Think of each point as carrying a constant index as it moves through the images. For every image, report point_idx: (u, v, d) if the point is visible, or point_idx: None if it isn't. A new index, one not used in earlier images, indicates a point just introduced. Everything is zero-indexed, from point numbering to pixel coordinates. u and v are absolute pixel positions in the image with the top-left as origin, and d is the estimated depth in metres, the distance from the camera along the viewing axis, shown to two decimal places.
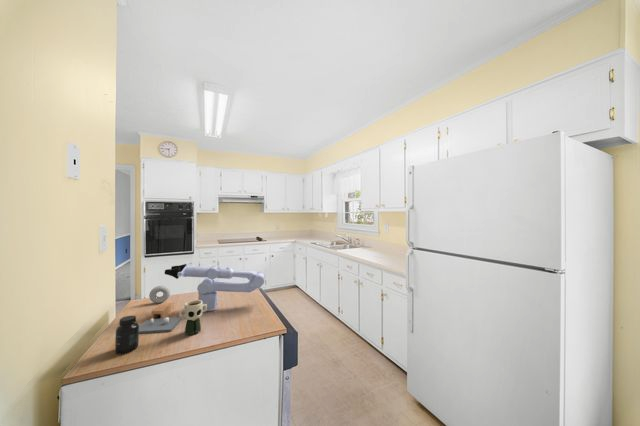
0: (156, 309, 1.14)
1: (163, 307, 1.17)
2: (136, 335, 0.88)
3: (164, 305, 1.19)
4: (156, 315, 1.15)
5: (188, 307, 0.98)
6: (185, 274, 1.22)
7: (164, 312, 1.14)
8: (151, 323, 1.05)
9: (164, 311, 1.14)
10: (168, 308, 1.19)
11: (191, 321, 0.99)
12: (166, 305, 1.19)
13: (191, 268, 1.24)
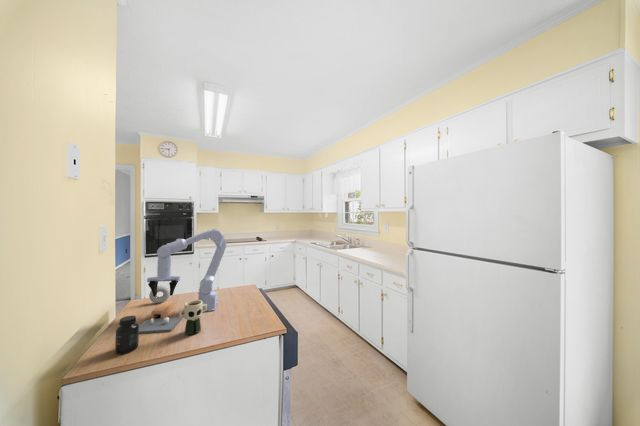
0: (156, 309, 1.14)
1: (163, 307, 1.17)
2: (136, 335, 0.88)
3: (164, 305, 1.19)
4: (156, 315, 1.15)
5: (188, 307, 0.98)
6: (170, 276, 1.20)
7: (164, 312, 1.14)
8: (151, 323, 1.05)
9: (164, 311, 1.14)
10: (168, 308, 1.19)
11: (191, 321, 0.99)
12: (166, 305, 1.19)
13: (166, 273, 1.17)
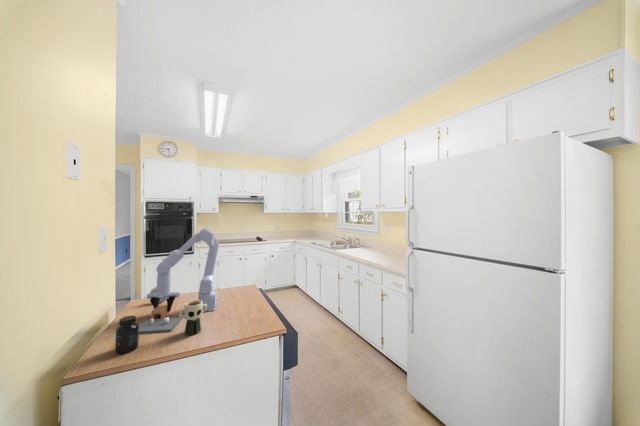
0: (156, 309, 1.14)
1: (163, 307, 1.17)
2: (136, 335, 0.88)
3: (164, 305, 1.19)
4: (156, 315, 1.15)
5: (188, 307, 0.98)
6: (170, 292, 1.20)
7: (164, 312, 1.14)
8: (151, 323, 1.05)
9: (164, 311, 1.14)
10: None
11: (191, 321, 0.99)
12: (166, 305, 1.19)
13: (165, 289, 1.17)
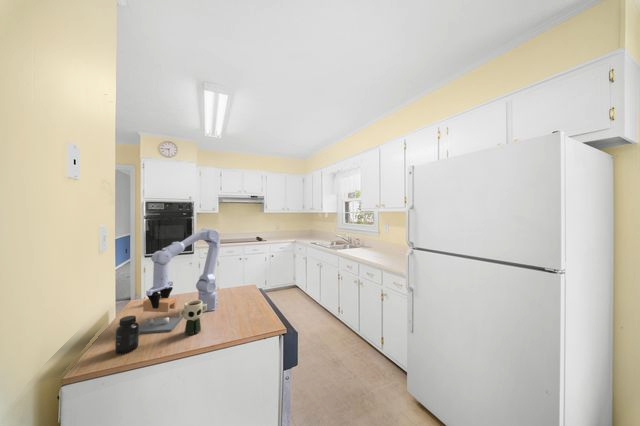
0: (165, 301, 1.06)
1: (164, 299, 1.08)
2: (136, 335, 0.88)
3: None
4: None
5: (188, 307, 0.98)
6: None
7: None
8: (151, 323, 1.05)
9: None
10: None
11: (191, 321, 0.99)
12: (160, 298, 1.09)
13: (167, 279, 1.09)
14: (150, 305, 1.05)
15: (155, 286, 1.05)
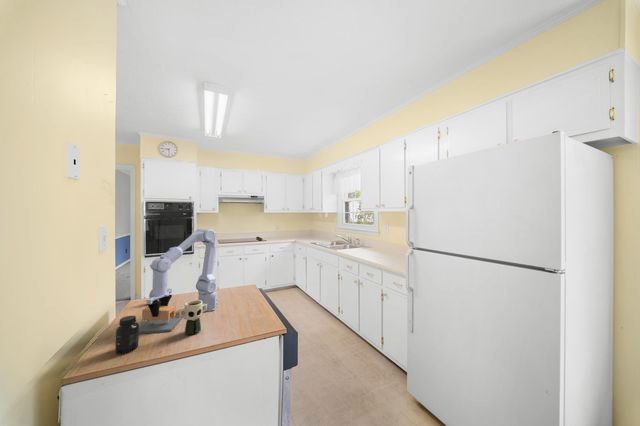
0: (165, 309, 1.05)
1: (164, 307, 1.07)
2: (136, 335, 0.88)
3: None
4: None
5: (188, 307, 0.98)
6: None
7: None
8: (151, 323, 1.05)
9: None
10: None
11: (191, 321, 0.99)
12: None
13: None
14: (149, 314, 1.04)
15: (155, 294, 1.03)
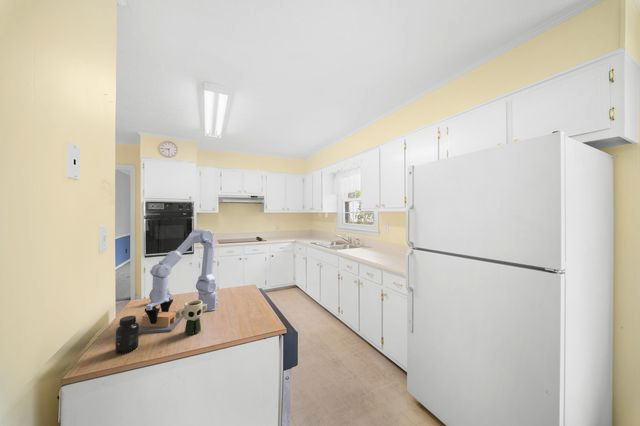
0: (165, 315, 1.05)
1: (164, 313, 1.07)
2: (136, 335, 0.88)
3: None
4: None
5: (188, 307, 0.98)
6: None
7: None
8: None
9: None
10: None
11: (191, 321, 0.99)
12: (159, 313, 1.07)
13: None
14: (149, 320, 1.04)
15: (155, 300, 1.03)
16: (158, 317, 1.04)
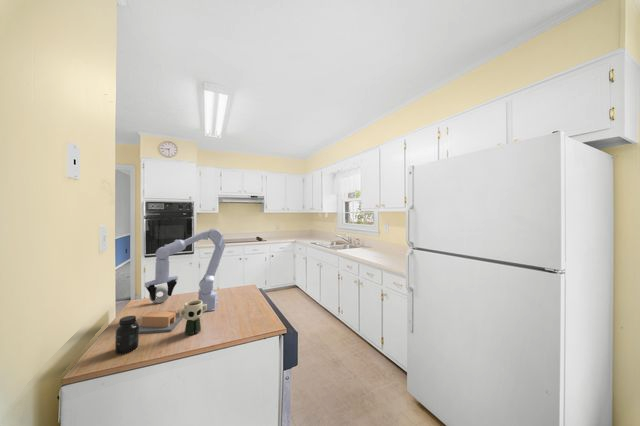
0: (165, 315, 1.05)
1: (164, 313, 1.07)
2: (136, 335, 0.88)
3: (157, 314, 1.06)
4: None
5: (188, 307, 0.98)
6: None
7: None
8: None
9: None
10: None
11: (191, 321, 0.99)
12: (159, 313, 1.07)
13: (168, 274, 1.17)
14: (149, 320, 1.04)
15: (155, 279, 1.14)
16: (158, 317, 1.04)
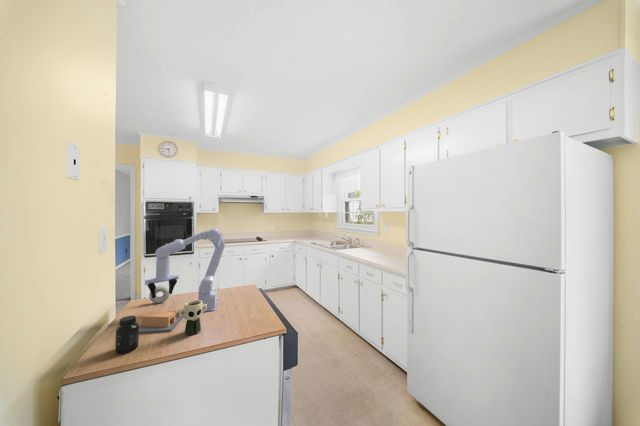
0: (165, 315, 1.05)
1: (164, 313, 1.07)
2: (136, 335, 0.88)
3: (157, 314, 1.06)
4: None
5: (188, 307, 0.98)
6: None
7: None
8: None
9: None
10: None
11: (191, 321, 0.99)
12: (159, 313, 1.07)
13: (168, 272, 1.19)
14: (149, 320, 1.04)
15: (156, 277, 1.17)
16: (158, 317, 1.04)
